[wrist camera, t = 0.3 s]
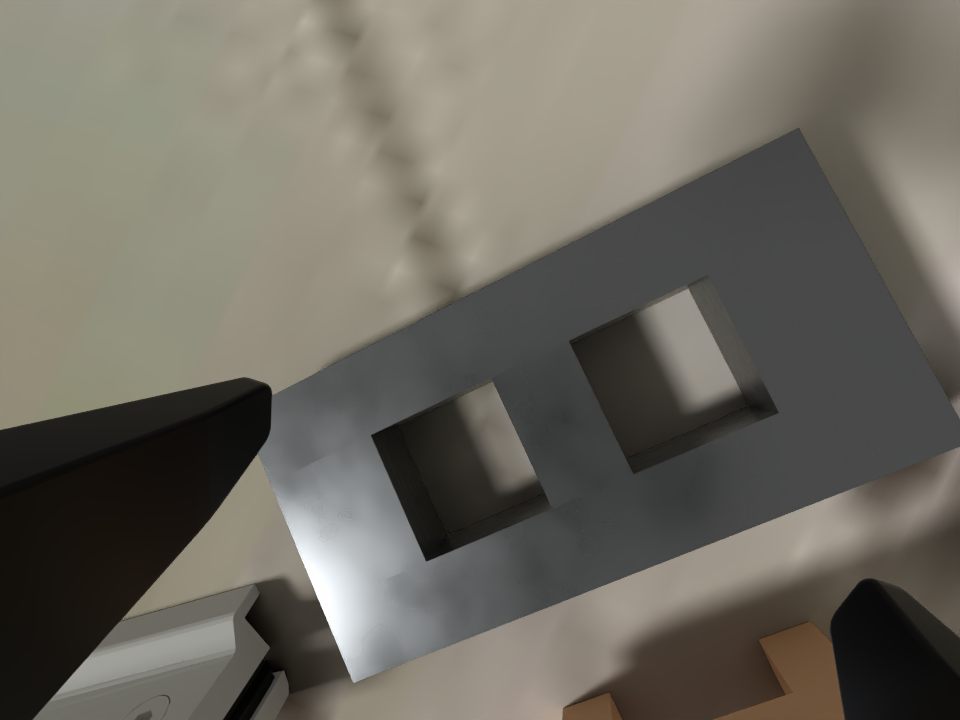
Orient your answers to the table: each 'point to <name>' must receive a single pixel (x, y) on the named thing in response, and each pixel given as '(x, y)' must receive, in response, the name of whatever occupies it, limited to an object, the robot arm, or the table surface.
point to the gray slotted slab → (583, 426)
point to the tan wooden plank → (798, 667)
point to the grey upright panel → (177, 668)
